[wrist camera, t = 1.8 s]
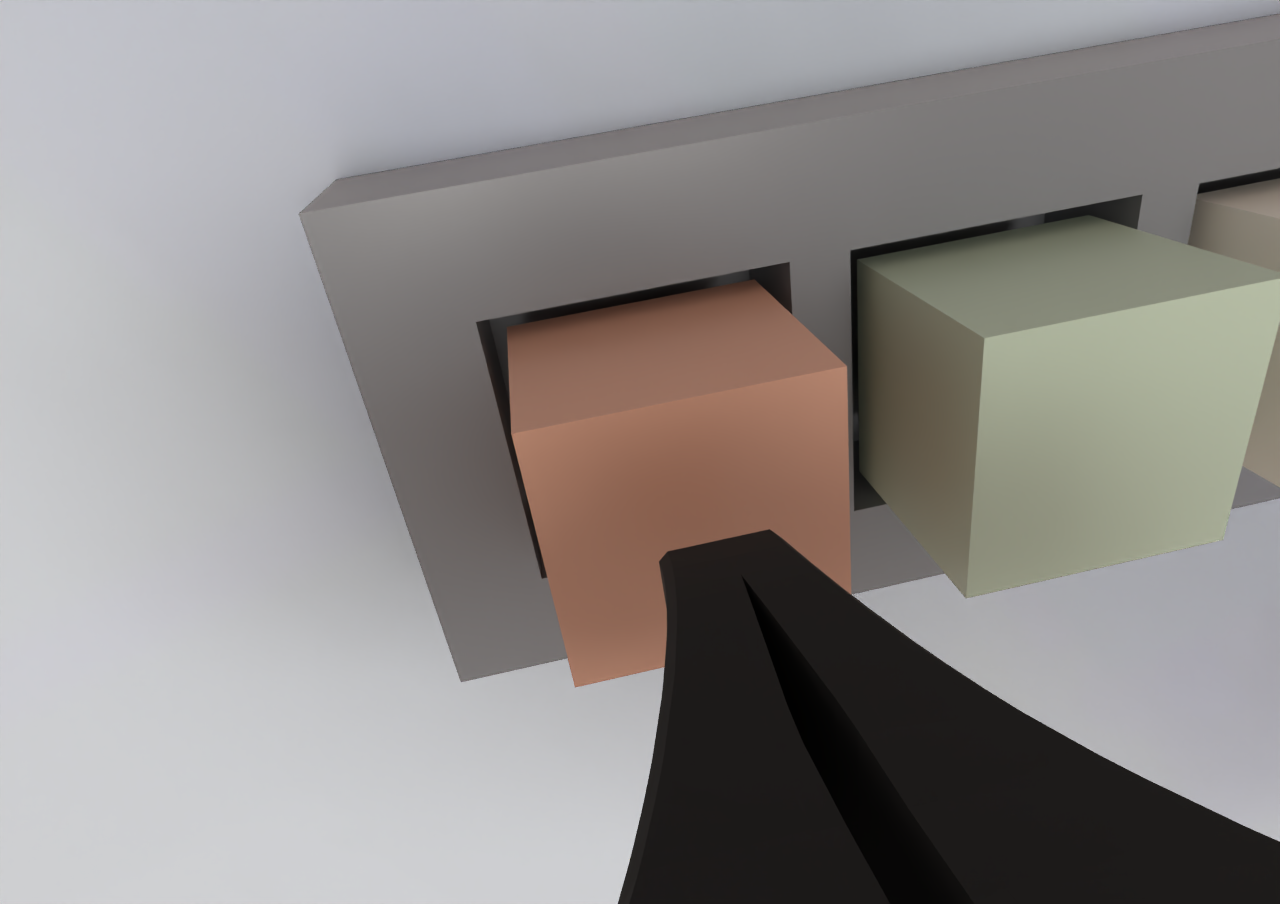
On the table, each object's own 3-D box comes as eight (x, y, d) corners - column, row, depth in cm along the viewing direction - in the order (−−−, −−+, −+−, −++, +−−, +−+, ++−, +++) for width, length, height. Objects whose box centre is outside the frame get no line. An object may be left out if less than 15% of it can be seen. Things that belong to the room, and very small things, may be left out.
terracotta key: (753, 279, 13) (847, 366, 10) (769, 490, 15) (851, 624, 12) (506, 326, 13) (511, 434, 9) (556, 535, 15) (575, 687, 12)
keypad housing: (1435, -14, 15) (1631, -24, 13) (1311, 405, 20) (1438, 462, 17) (336, 179, 14) (298, 213, 11) (465, 588, 18) (461, 681, 15)
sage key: (1088, 215, 14) (1291, 275, 10) (1061, 427, 16) (1223, 539, 12) (857, 259, 13) (983, 337, 10) (859, 470, 15) (965, 598, 12)
